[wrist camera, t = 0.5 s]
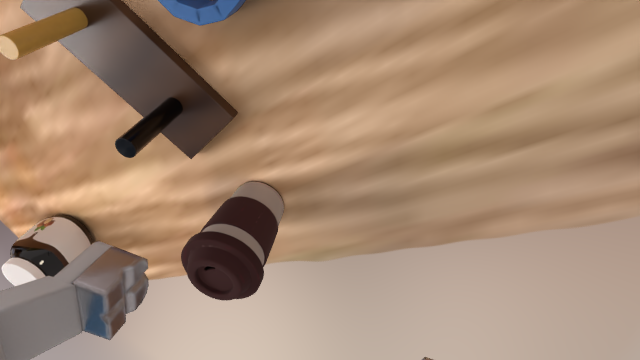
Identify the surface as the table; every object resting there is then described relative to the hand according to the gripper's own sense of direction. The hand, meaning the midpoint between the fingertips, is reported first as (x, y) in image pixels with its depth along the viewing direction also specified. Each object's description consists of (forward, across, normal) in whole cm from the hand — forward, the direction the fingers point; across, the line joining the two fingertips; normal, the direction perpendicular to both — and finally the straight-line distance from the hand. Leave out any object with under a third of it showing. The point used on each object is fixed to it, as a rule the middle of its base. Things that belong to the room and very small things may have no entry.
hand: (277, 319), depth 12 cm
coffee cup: (+40, +13, +27) cm, 50 cm away
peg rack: (+37, +30, +10) cm, 49 cm away
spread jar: (+41, +47, +49) cm, 79 cm away
